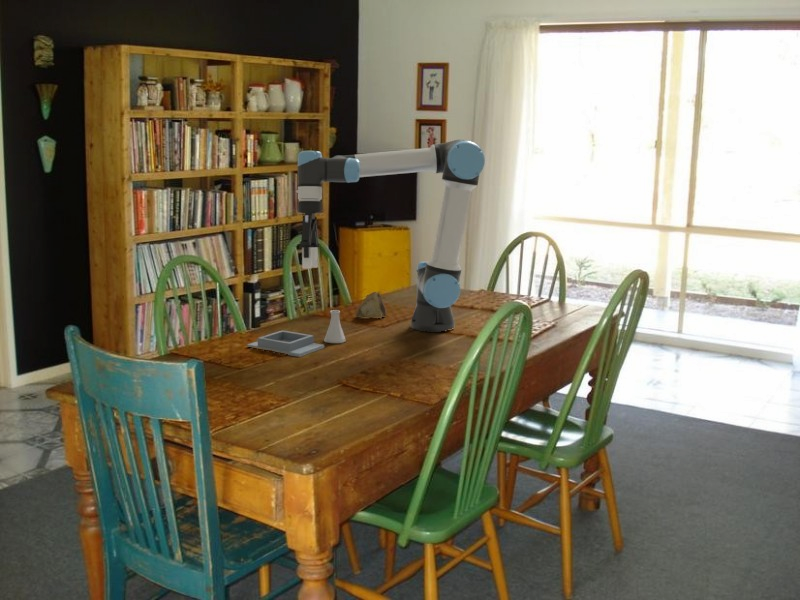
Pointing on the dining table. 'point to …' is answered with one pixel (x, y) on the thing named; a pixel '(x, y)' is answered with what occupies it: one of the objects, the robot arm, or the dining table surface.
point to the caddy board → (288, 343)
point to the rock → (371, 306)
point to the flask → (335, 329)
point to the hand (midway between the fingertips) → (310, 268)
